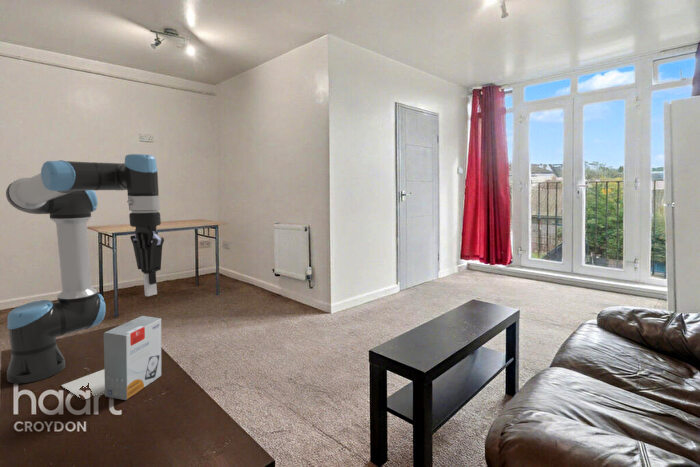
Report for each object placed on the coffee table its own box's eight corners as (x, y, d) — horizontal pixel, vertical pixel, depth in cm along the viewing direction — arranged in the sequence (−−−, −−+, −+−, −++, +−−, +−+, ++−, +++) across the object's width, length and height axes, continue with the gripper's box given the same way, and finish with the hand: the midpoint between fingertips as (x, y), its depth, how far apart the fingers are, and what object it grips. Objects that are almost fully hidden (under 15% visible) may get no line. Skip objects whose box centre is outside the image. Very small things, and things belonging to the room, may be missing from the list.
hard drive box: (126, 401, 110) (124, 336, 107) (103, 397, 111) (101, 332, 109) (162, 375, 125) (161, 317, 122) (142, 371, 126) (141, 314, 124)
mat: (61, 386, 118) (61, 385, 118) (112, 367, 131) (112, 366, 131) (83, 401, 110) (83, 399, 110) (135, 378, 123) (135, 377, 123)
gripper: (118, 211, 105) (125, 294, 107) (144, 213, 97) (150, 301, 100) (145, 210, 111) (151, 288, 114) (171, 211, 104) (176, 295, 107)
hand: (151, 294), depth 107 cm, fingers closed
